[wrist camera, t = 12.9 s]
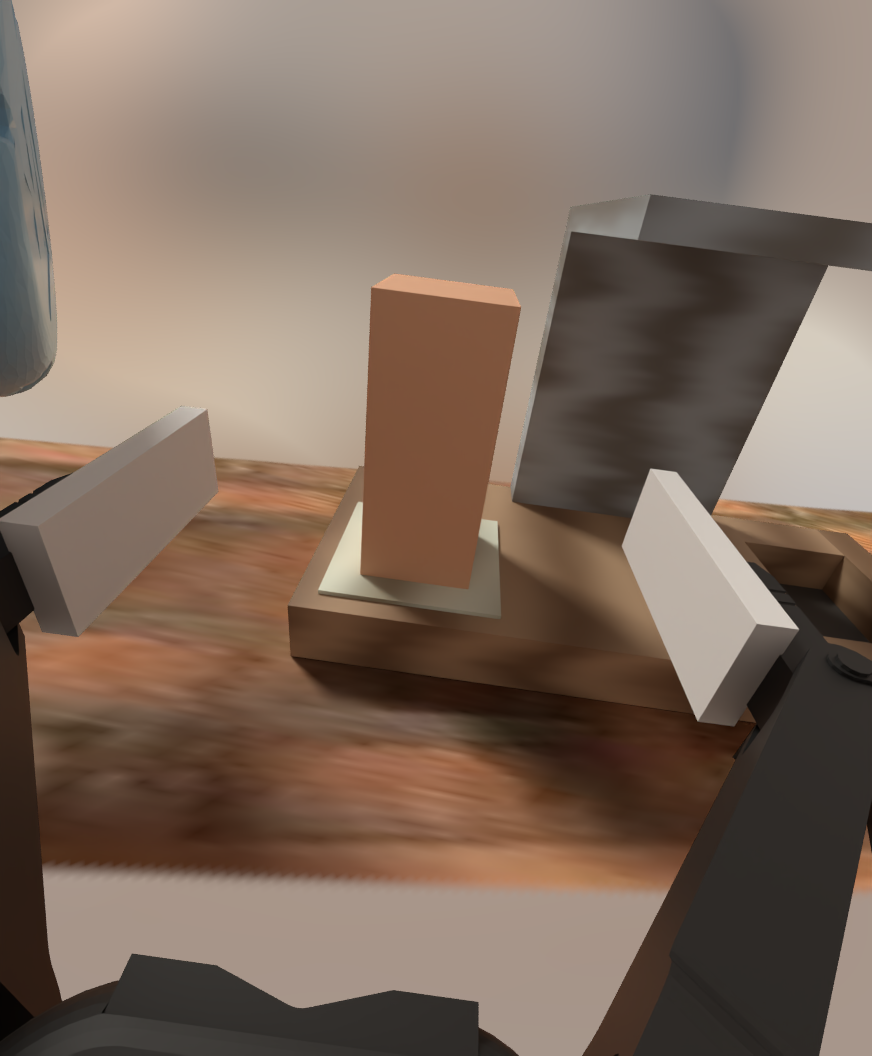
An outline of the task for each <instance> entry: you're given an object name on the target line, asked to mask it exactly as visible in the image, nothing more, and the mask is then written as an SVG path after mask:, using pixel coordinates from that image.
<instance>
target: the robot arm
mask: <svg viewBox="0 0 872 1056" xmlns="http://www.w3.org/2000/svg"><path fill="white" fill-rule="evenodd" d="M56 351H57V314H56V297H55V283H54V273H53V262H52V251H51V243H50V234H49V225H48V216H47V209H46V200H45V192H44V185H43V177H42V169H41V162H40V154H39V147H38V140H37V133H36V127H35V119H34V113H33V107H32V100H31V94H30V87H29V81H28V75H27V69H26V63H25V57H24V52H23V47H22V42H21V37H20V32H19V27H18V22H17V20H16V18H15V14H14V9H13V5H12V1H11V0H0V397H6V396H11V395H14V394H17V393H21V392H24V391H27V390H29V389H31V388H32V387H33V386H35V385H36V384H37V383H38V382H40V381H41V380H42V379H43V378H44V377H46V376H47V374H48V373H49V371H50V369H51V368H52V366H53V363H54V361H55V356H56ZM217 493H218V485H217V478H216V470H215V463H214V455H213V448H212V441H211V433H210V426H209V418H208V411H207V409H202V408H194V407H187V406H180V407H179V408H177V409H175V410H174V411H172V412H171V413H169V414H167V415H166V416H164V417H163V418H161V419H160V420H158V421H156V422H155V423H153V424H151V425H150V426H148V427H146V428H145V429H143V430H142V431H140V432H138V433H137V434H135V435H134V436H132V437H130V438H129V439H127V440H126V441H124V442H122V443H121V444H119V445H118V446H116V447H114V448H113V449H111V450H109V451H108V452H106V453H105V454H103V455H101V456H100V457H98V458H96V459H95V460H93V461H92V462H90V463H88V464H87V465H85V466H84V467H82V468H80V469H79V470H77V471H76V472H74V473H71V474H68V475H65V476H62V477H59V478H57V479H54V480H51V481H49V482H47V483H46V484H44V485H43V486H41V487H39V488H38V489H36V490H34V491H33V494H32V493H29V494H28V495H26V496H24V497H23V498H21V499H19V502H14V503H13V504H11V505H9V506H8V507H6V508H5V509H3V510H1V511H0V1056H519V1055H518V1054H516V1053H515V1052H514V1051H513V1050H512V1049H511V1048H510V1047H508V1046H507V1045H506V1044H504V1043H503V1042H501V1041H500V1040H499V1039H497V1038H496V1037H495V1036H493V1035H492V1034H490V1033H488V1032H486V1031H484V1030H482V1029H480V1028H479V1027H478V1002H474V1001H466V1000H459V999H452V998H445V997H437V996H431V995H424V994H417V993H410V992H402V991H395V990H393V991H387V992H382V993H378V994H373V995H368V996H363V997H359V998H353V999H349V1000H344V1001H339V1002H334V1003H329V1004H324V1005H319V1006H314V1007H309V1008H295V1007H292V1006H290V1005H287V1004H286V1003H284V1002H282V1001H280V1000H278V999H277V998H275V997H273V996H271V995H269V994H268V993H265V992H264V991H262V990H260V989H258V988H257V987H255V986H253V985H251V984H249V983H247V982H246V981H244V980H242V979H240V978H238V977H237V976H235V975H233V974H231V973H229V972H227V971H226V970H224V969H222V968H220V967H218V966H216V965H209V964H202V963H195V962H188V961H181V960H173V959H167V958H159V957H152V956H145V955H138V954H132V955H131V957H130V959H129V961H128V963H127V965H126V967H125V969H124V971H123V973H122V976H121V978H120V980H119V981H114V982H111V983H107V984H105V985H102V986H98V987H95V988H93V989H90V990H86V991H84V992H82V993H80V994H77V995H75V996H73V997H71V998H69V999H66V1000H64V1001H62V1000H61V995H60V990H59V987H58V984H57V981H56V977H55V974H54V971H53V968H52V965H51V960H50V955H49V949H48V940H47V926H46V913H45V899H44V887H43V873H42V859H41V846H40V833H39V820H38V807H37V793H36V780H35V767H34V754H33V740H32V727H31V714H30V701H29V688H28V674H27V661H26V648H25V636H24V634H23V631H22V629H21V627H20V624H19V623H20V622H21V621H22V620H23V619H24V618H25V617H26V616H28V615H29V614H30V613H31V612H32V611H34V613H35V615H36V618H37V620H38V623H39V625H40V628H41V630H42V632H46V633H53V634H61V635H68V636H75V637H79V636H80V635H81V634H82V632H83V631H84V630H85V629H86V628H87V627H88V626H89V625H90V624H91V623H92V622H93V621H94V620H95V619H96V618H97V617H98V616H99V615H100V614H101V613H102V612H103V611H104V610H105V609H106V608H107V607H108V606H109V605H110V603H111V602H112V601H113V600H114V599H115V598H116V597H117V596H118V595H119V594H120V593H121V592H122V591H123V590H124V589H125V588H126V587H127V586H128V585H129V584H130V583H131V582H132V581H133V580H134V579H135V578H136V577H137V576H138V574H139V573H140V572H141V571H142V570H143V569H144V568H145V567H146V566H147V565H148V564H149V563H150V562H151V561H152V560H153V559H154V558H155V557H156V556H157V555H158V554H159V553H160V552H161V551H162V550H163V549H164V548H165V547H166V545H167V544H168V543H169V542H170V541H171V540H172V539H173V538H174V537H175V536H176V535H177V534H178V533H179V532H180V531H181V530H182V529H183V528H184V527H185V526H186V525H187V524H188V523H189V522H190V521H191V520H192V519H193V518H194V516H195V515H196V514H197V513H198V512H199V511H200V510H201V509H202V508H203V507H204V506H205V505H206V504H207V503H208V502H209V501H210V500H211V499H212V498H213V497H214V496H215V495H216V494H217ZM622 548H623V551H624V553H625V555H626V557H627V560H628V562H629V564H630V567H631V569H632V571H633V574H634V576H635V578H636V580H637V583H638V585H639V587H640V590H641V592H642V594H643V597H644V599H645V601H646V604H647V606H648V608H649V610H650V613H651V615H652V617H653V620H654V622H655V624H656V627H657V629H658V631H659V633H660V636H661V638H662V640H663V643H664V645H665V647H666V650H667V652H668V654H669V656H670V659H671V661H672V663H673V666H674V668H675V670H676V673H677V675H678V677H679V680H680V682H681V684H682V686H683V689H684V691H685V693H686V696H687V698H688V700H689V703H690V705H691V707H692V709H693V712H694V714H695V716H696V719H697V721H698V722H705V723H712V724H719V725H727V726H735V724H736V723H737V722H738V720H739V719H740V717H741V716H742V714H743V713H744V711H745V710H746V708H747V707H748V709H749V710H750V712H751V714H752V716H753V718H754V720H755V721H756V723H757V724H756V725H755V726H754V728H753V729H752V731H751V732H750V733H749V735H748V736H747V738H746V739H745V741H744V742H743V743H742V745H741V746H740V748H739V749H738V750H737V752H736V753H735V755H734V756H733V758H734V759H736V760H735V762H734V764H733V766H732V768H731V770H730V772H729V774H728V776H727V778H726V780H725V782H724V784H723V786H722V788H721V790H720V792H719V794H718V796H717V798H716V800H715V802H714V804H713V806H712V808H711V809H710V811H709V813H708V815H707V817H706V819H705V821H704V823H703V825H702V827H701V829H700V831H699V833H698V835H697V837H696V839H695V841H694V843H693V845H692V847H691V849H690V851H689V853H688V855H687V857H686V859H685V860H684V862H683V864H682V866H681V868H680V870H679V872H678V874H677V876H676V878H675V880H674V882H673V884H672V886H671V888H670V890H669V892H668V894H667V896H666V898H665V900H664V902H663V904H662V906H661V908H660V910H659V912H658V913H657V915H656V917H655V919H654V921H653V924H652V925H651V927H650V929H649V931H648V933H647V935H646V937H645V939H644V941H643V943H642V945H641V947H640V949H639V951H638V953H637V955H636V957H635V959H634V961H633V963H632V965H631V966H630V968H629V970H628V972H627V974H626V976H625V978H624V980H623V982H622V984H621V986H620V988H619V990H618V992H617V994H616V996H615V998H614V1000H613V1002H612V1004H611V1006H610V1008H609V1010H608V1011H607V1014H606V1015H605V1017H604V1019H603V1021H602V1023H601V1025H600V1027H599V1029H598V1031H597V1032H596V1034H595V1036H594V1037H593V1039H592V1041H591V1042H590V1044H589V1046H588V1048H587V1049H586V1050H585V1052H584V1054H583V1055H582V1056H819V1053H820V1048H821V1043H822V1038H823V1034H824V1028H825V1023H826V1019H827V1014H828V1009H829V1005H830V1000H831V994H832V990H833V985H834V980H835V975H836V970H837V966H838V961H839V956H840V951H841V946H842V941H843V937H844V932H845V927H846V922H847V917H848V912H849V907H850V903H851V898H852V893H853V888H854V883H855V878H856V873H857V869H858V864H859V859H860V854H861V849H862V844H863V839H864V835H865V830H866V825H867V827H868V833H869V839H870V845H871V851H872V661H871V660H869V659H868V658H866V657H864V656H862V655H861V654H859V653H857V652H856V651H853V650H851V649H848V648H846V647H843V646H841V645H836V644H831V643H828V642H827V641H826V639H825V638H824V637H823V636H822V635H821V633H820V632H819V631H818V630H817V629H816V627H815V626H814V625H813V624H812V623H811V621H810V620H809V619H808V618H807V616H806V615H805V614H804V613H803V612H802V610H801V609H800V608H799V607H798V606H795V604H796V603H795V602H794V601H793V599H792V598H791V597H790V596H789V595H788V594H785V592H786V591H785V590H784V589H783V587H782V586H781V585H780V584H779V582H778V581H777V580H776V579H775V578H774V576H772V575H771V574H769V573H768V572H767V571H765V570H764V569H763V568H761V567H760V566H759V565H757V564H756V563H754V562H746V561H745V559H744V558H743V557H742V555H741V554H740V553H739V552H738V550H737V549H736V548H735V547H734V545H733V544H732V543H731V541H730V540H729V539H728V538H727V536H726V535H725V534H724V532H723V531H722V530H721V529H720V527H719V526H718V525H717V523H716V522H715V521H714V520H713V518H712V517H711V516H710V514H709V513H708V512H707V511H706V509H705V508H704V507H703V505H702V504H701V503H700V502H699V500H698V499H697V498H696V497H695V495H694V494H693V493H692V491H691V490H690V489H689V488H688V486H687V485H686V484H685V482H684V481H683V480H682V479H681V477H680V476H679V475H678V473H677V472H672V471H665V470H658V469H650V471H649V474H648V476H647V479H646V482H645V484H644V487H643V490H642V493H641V495H640V498H639V501H638V503H637V506H636V509H635V511H634V514H633V517H632V519H631V522H630V525H629V527H628V530H627V533H626V535H625V538H624V541H623V544H622Z"/></svg>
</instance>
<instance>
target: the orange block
mask: <svg viewBox="0 0 872 1056" xmlns="http://www.w3.org/2000/svg"><path fill="white" fill-rule="evenodd" d="M520 311H521V306H520V304H519V301H518V299H517V297H516V295H515V292H514V290H513V289H506V288H498V287H491V286H484V285H476V284H467V283H461V282H453V281H446V280H438V279H431V278H423V277H416V276H408V275H400V274H393V275H391V276H389V277H388V278H386V279H384V280H383V281H381V282H379V283H378V284H376V285H374V286H373V287H371V311H370V336H369V362H368V386H367V387H368V388H367V412H366V413H367V414H366V437H365V465H364V488H363V514H362V539H361V565H360V575H367V576H375V577H382V578H389V579H396V580H404V581H411V582H418V583H425V584H433V585H440V586H447V587H454V588H462V589H469V583H470V578H471V573H472V567H473V562H474V557H475V551H476V546H477V541H478V535H479V530H480V525H481V519H482V514H483V508H484V503H485V498H486V492H487V487H488V482H489V476H490V471H491V466H492V460H493V455H494V450H495V444H496V439H497V434H498V428H499V423H500V418H501V412H502V407H503V402H504V396H505V391H506V386H507V380H508V374H509V369H510V364H511V359H512V353H513V348H514V343H515V338H516V332H517V327H518V322H519V316H520Z"/></svg>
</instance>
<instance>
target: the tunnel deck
mask: <svg viewBox="0 0 872 1056" xmlns="http://www.w3.org/2000/svg"><path fill="white" fill-rule="evenodd" d="M828 265H830V266H838V267H845V268H852V269H861V270H868V271H872V223H865V222H857V221H850V220H841V219H834V218H827V217H818V216H811V215H804V214H796V213H788V212H781V211H773V210H765V209H758V208H750V207H743V206H735V205H728V204H720V203H712V202H704V201H697V200H689V199H681V198H674V197H666V196H658V195H644V196H638V197H631V198H625V199H618V200H612V201H606V202H599V203H593V204H587V205H580V206H574V207H570V212H569V217H568V222H567V226H566V231H565V235H564V240H563V245H562V250H561V254H560V259H559V264H558V268H557V273H556V277H555V282H554V286H553V292H552V296H551V301H550V305H549V311H548V314H547V319H546V324H545V328H544V333H543V338H542V342H541V347H540V352H539V356H538V361H537V366H536V371H535V375H534V380H533V384H532V389H531V394H530V398H529V403H528V408H527V413H526V417H525V422H524V426H523V431H522V436H521V440H520V445H519V450H518V454H517V459H516V464H515V468H514V473H513V478H512V482H511V487H507V486H500V485H493V484H488V487H487V492H486V498H485V503H484V508H483V514H482V519H481V525H480V530H479V535H478V541H477V546H476V551H475V557H474V562H473V567H472V573H471V578H470V583H469V589H462V588H454V587H447V586H440V585H433V584H425V583H418V582H411V581H404V580H396V579H389V578H382V577H375V576H367V575H360V565H361V539H362V514H363V488H364V467H362V466H359V468H358V469H357V471H356V473H355V475H354V477H353V479H352V481H351V483H350V485H349V487H348V489H347V491H346V493H345V495H344V497H343V499H342V501H341V503H340V505H339V506H338V508H337V510H336V512H335V514H334V516H333V518H332V520H331V522H330V524H329V526H328V528H327V530H326V532H325V534H324V536H323V538H322V540H321V542H320V543H319V545H318V547H317V549H316V551H315V553H314V555H313V557H312V559H311V561H310V563H309V565H308V567H307V569H306V571H305V573H304V575H303V577H302V579H301V580H300V582H299V584H298V586H297V588H296V590H295V592H294V594H293V596H292V598H291V600H290V602H289V604H288V618H289V635H290V651H291V656H295V657H302V658H309V659H316V660H323V661H330V662H337V663H344V664H351V665H358V666H364V667H371V668H378V669H385V670H392V671H399V672H406V673H413V674H420V675H427V676H434V677H441V678H448V679H455V680H462V681H469V682H476V683H483V684H490V685H496V686H503V687H510V688H517V689H524V690H531V691H538V692H545V693H552V694H559V695H566V696H573V697H580V698H587V699H594V700H601V701H608V702H615V703H622V704H629V705H635V706H642V707H649V708H656V709H663V710H670V711H677V712H684V713H691V714H694V712H693V709H692V707H691V705H690V703H689V700H688V698H687V696H686V693H685V691H684V689H683V686H682V684H681V682H680V680H679V677H678V675H677V673H676V670H675V668H674V666H673V663H672V661H671V659H670V656H669V654H668V652H667V650H666V647H665V645H664V643H663V640H662V638H661V636H660V633H659V631H658V629H657V627H656V624H655V622H654V620H653V617H652V615H651V613H650V610H649V608H648V606H647V604H646V601H645V599H644V597H643V594H642V592H641V590H640V587H639V585H638V583H637V580H636V578H635V576H634V574H633V571H632V569H631V567H630V564H629V562H628V560H627V557H626V555H625V553H624V551H623V548H622V544H623V541H624V538H625V535H626V533H627V530H628V527H629V525H630V522H631V519H632V517H633V514H634V511H635V509H636V506H637V503H638V501H639V498H640V495H641V493H642V490H643V487H644V484H645V482H646V479H647V476H648V474H649V471H650V469H658V470H665V471H672V472H677V473H678V475H679V476H680V477H681V479H682V480H683V481H684V482H685V484H686V485H687V486H688V488H689V489H690V490H691V491H692V493H693V494H694V495H695V497H696V498H697V499H698V500H699V502H700V503H701V504H702V505H703V507H704V508H705V509H706V511H707V512H708V513H709V514H710V516H711V517H712V518H713V520H714V521H715V522H716V523H717V525H718V526H719V527H720V529H721V530H722V531H723V532H724V534H725V535H726V536H727V538H728V539H729V540H730V541H731V543H732V544H733V545H734V547H735V548H736V549H737V550H738V552H739V553H740V554H741V555H742V557H743V558H744V559H745V561H746V562H754V563H756V564H757V565H759V566H760V567H761V568H763V569H764V570H765V571H767V572H768V573H769V574H771V575H772V576H774V578H775V579H776V580H777V581H778V582H779V584H780V585H781V586H782V587H783V589H784V590H785V591H786V592H785V594H788V595H789V596H790V597H791V598H792V599H793V601H794V602H795V603H796V604H795V606H798V607H799V608H800V609H801V610H802V612H803V613H804V614H805V615H806V616H807V618H808V619H809V620H810V621H811V623H812V624H813V625H814V626H815V627H816V629H817V630H818V631H819V632H820V633H821V635H822V636H823V637H824V638H825V639H826V641H827V642H828V643H831V644H836V645H841V646H843V647H846V648H848V649H851V650H853V651H856V652H857V653H859V654H861V655H862V656H864V657H866V658H868V659H869V660H871V661H872V555H871V554H870V553H869V552H868V551H867V550H865V549H864V548H863V547H862V546H861V545H860V544H858V543H857V542H856V541H855V540H854V539H853V538H852V537H850V536H849V535H848V534H846V533H838V532H831V531H824V530H817V529H810V528H802V527H795V526H788V525H781V524H774V523H766V522H759V521H752V520H745V519H738V518H730V517H723V516H716V515H711V514H712V512H713V510H714V508H715V506H716V504H717V502H718V499H719V497H720V495H721V493H722V491H723V489H724V487H725V484H726V482H727V480H728V478H729V476H730V474H731V472H732V470H733V467H734V465H735V463H736V461H737V459H738V457H739V454H740V453H741V450H742V448H743V446H744V444H745V442H746V440H747V438H748V435H749V433H750V431H751V429H752V427H753V425H754V423H755V421H756V418H757V416H758V414H759V412H760V410H761V408H762V406H763V404H764V401H765V399H766V397H767V395H768V393H769V391H770V389H771V387H772V384H773V382H774V380H775V378H776V376H777V374H778V371H779V370H780V367H781V365H782V363H783V361H784V359H785V357H786V355H787V352H788V350H789V348H790V346H791V344H792V342H793V340H794V338H795V336H796V333H797V331H798V329H799V327H800V325H801V323H802V320H803V318H804V316H805V314H806V312H807V310H808V308H809V306H810V303H811V301H812V299H813V297H814V295H815V293H816V291H817V288H818V287H819V284H820V282H821V280H822V278H823V276H824V274H825V272H826V269H827V267H828ZM739 720H740V721H747V722H754V723H756V721H755V720H754V718H753V716H752V714H751V712H750V710H749V709H748V707H747V708H746V710H745V711H744V713H743V714H742V716H741V717H740V719H739Z"/></svg>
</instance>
